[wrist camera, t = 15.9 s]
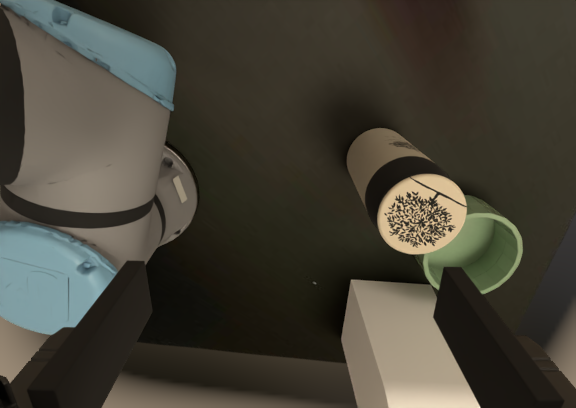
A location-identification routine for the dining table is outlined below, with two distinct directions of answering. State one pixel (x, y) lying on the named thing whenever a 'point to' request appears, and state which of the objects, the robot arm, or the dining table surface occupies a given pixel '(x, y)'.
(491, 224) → the pot
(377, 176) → the travel mug
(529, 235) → the dining table surface
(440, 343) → the milk
